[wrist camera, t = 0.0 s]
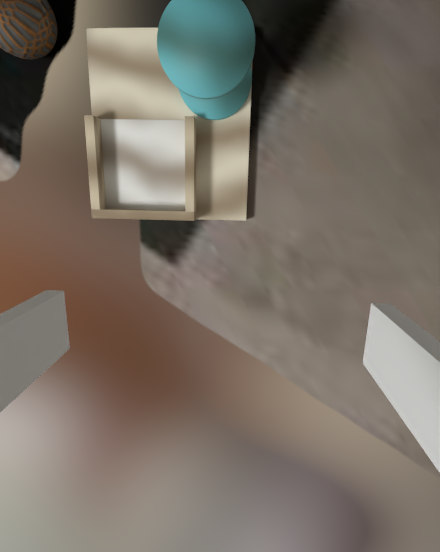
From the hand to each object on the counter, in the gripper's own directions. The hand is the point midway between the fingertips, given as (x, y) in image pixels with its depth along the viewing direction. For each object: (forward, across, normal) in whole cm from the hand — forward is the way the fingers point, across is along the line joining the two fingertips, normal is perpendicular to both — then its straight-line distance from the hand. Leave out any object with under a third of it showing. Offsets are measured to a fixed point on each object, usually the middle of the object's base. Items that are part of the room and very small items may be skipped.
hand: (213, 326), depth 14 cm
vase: (+28, -22, +22) cm, 42 cm away
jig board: (+28, -7, +12) cm, 31 cm away
